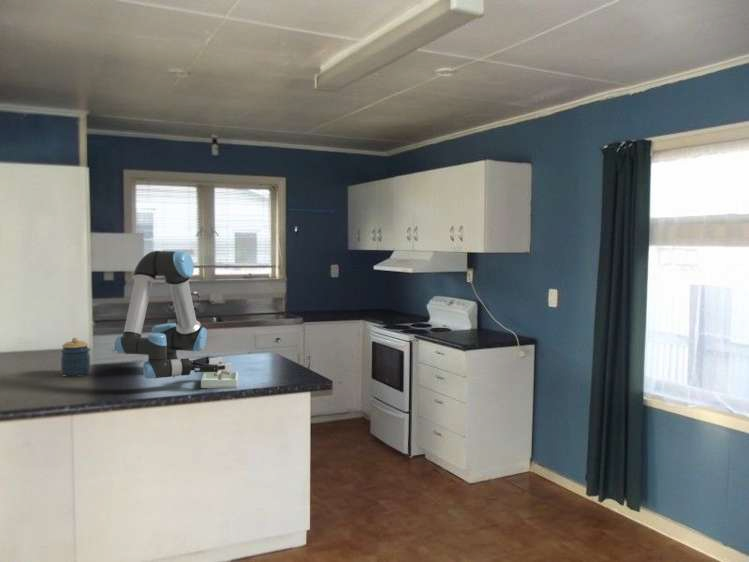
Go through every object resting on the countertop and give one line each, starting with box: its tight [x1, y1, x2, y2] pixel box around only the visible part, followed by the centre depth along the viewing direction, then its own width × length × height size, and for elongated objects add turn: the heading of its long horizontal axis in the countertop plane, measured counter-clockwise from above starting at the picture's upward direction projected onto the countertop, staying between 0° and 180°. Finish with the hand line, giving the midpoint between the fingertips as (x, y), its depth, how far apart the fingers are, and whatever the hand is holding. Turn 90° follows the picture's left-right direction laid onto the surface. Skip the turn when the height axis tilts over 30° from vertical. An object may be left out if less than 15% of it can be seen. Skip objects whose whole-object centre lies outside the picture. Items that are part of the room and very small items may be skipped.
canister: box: [59, 337, 91, 377], centre depth 306 cm, size 13×13×18 cm
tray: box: [200, 371, 239, 389], centre depth 295 cm, size 16×16×4 cm
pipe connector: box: [214, 360, 232, 380], centre depth 294 cm, size 10×10×10 cm
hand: (227, 363), depth 296 cm, fingers open, 13 cm apart
